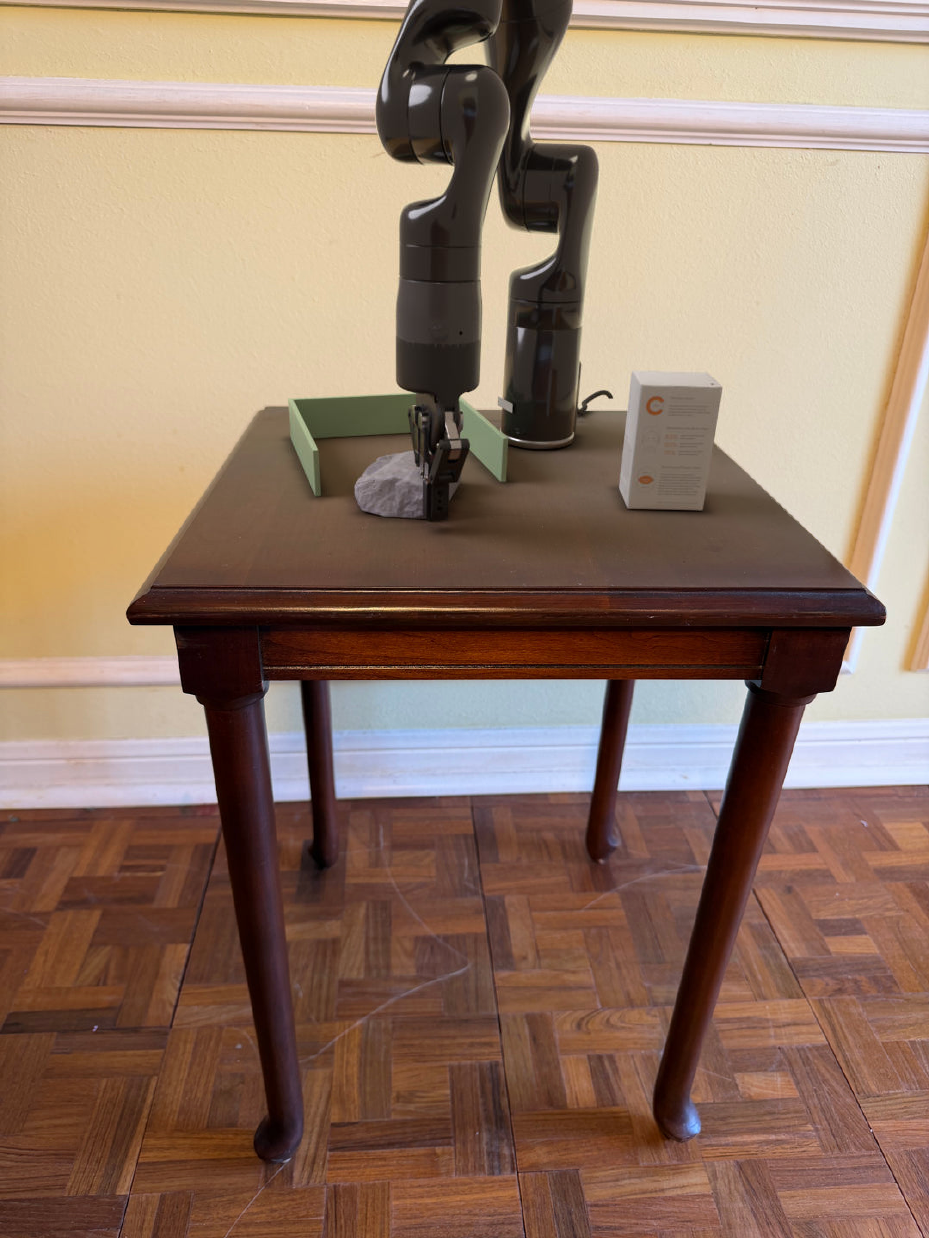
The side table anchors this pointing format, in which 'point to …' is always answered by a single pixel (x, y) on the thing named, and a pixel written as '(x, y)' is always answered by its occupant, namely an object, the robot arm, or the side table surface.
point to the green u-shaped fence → (381, 427)
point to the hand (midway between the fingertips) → (435, 518)
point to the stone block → (394, 487)
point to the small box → (669, 439)
